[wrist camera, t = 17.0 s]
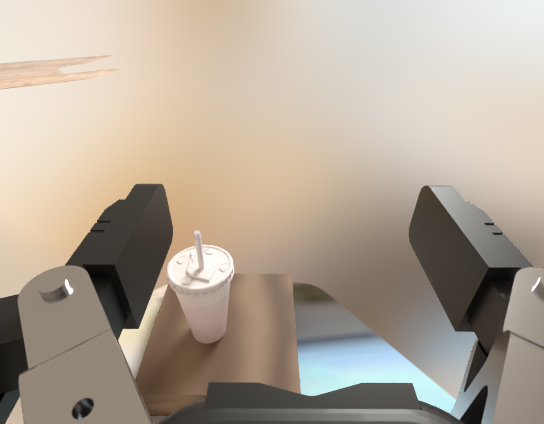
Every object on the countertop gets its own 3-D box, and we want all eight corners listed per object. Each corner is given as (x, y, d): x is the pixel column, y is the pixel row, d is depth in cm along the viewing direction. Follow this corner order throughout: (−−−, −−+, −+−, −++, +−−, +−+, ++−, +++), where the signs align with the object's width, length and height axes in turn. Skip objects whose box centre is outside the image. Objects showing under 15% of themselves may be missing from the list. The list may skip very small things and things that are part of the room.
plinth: (290, 294, 47) (291, 274, 45) (298, 415, 34) (300, 394, 32) (176, 293, 47) (172, 273, 45) (139, 415, 34) (130, 394, 31)
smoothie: (190, 365, 34) (168, 262, 26) (173, 319, 38) (150, 220, 31) (247, 339, 36) (243, 238, 29) (224, 298, 41) (216, 202, 33)
